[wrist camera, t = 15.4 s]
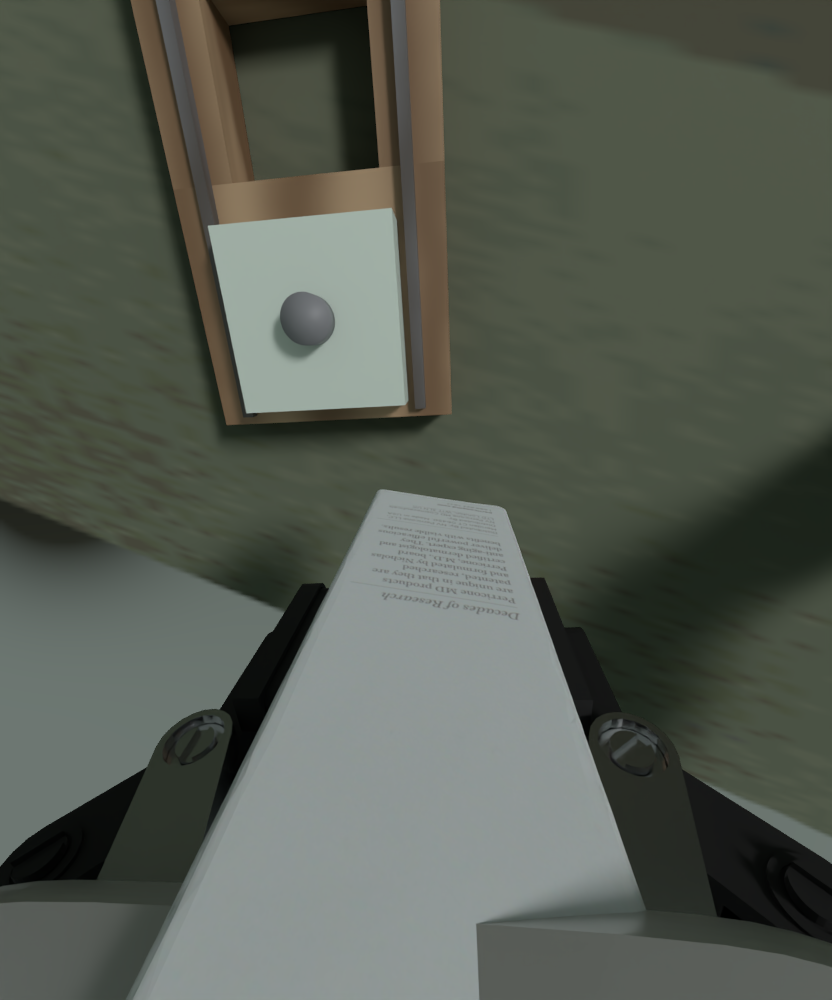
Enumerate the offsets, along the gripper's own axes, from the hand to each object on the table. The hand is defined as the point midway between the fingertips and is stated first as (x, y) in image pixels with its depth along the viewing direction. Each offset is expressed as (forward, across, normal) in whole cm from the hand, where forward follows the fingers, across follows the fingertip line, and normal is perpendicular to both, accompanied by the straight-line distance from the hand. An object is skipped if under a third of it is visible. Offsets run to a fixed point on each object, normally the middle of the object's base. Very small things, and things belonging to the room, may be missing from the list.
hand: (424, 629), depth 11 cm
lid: (+15, +6, -9) cm, 19 cm away
